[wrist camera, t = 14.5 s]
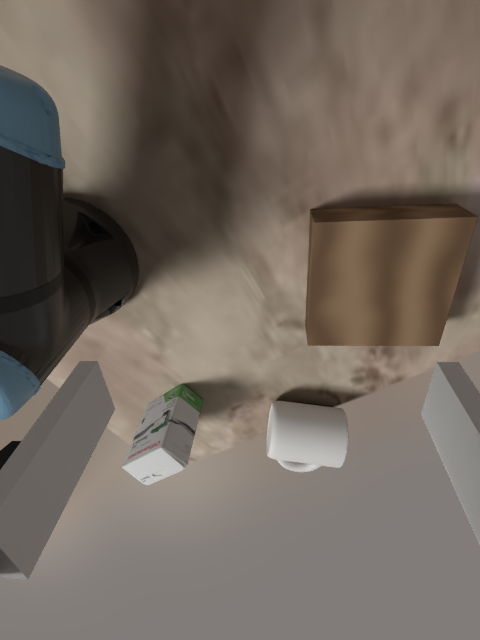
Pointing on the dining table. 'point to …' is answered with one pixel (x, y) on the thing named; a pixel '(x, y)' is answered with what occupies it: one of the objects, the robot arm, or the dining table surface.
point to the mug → (306, 436)
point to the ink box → (164, 436)
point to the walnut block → (384, 273)
